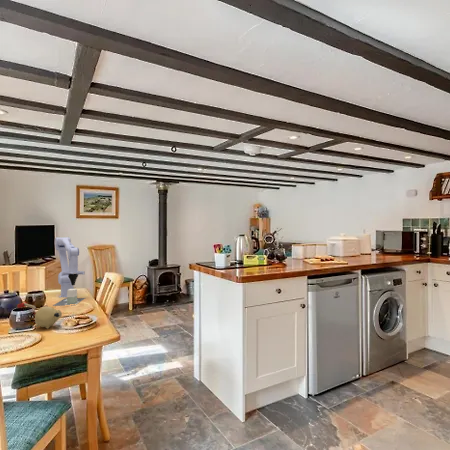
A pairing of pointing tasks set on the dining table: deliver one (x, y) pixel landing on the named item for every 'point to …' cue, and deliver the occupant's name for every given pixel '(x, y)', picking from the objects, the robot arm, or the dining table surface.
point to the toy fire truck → (25, 305)
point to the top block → (71, 292)
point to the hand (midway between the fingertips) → (73, 285)
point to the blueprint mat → (64, 302)
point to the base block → (71, 300)
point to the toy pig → (47, 317)
